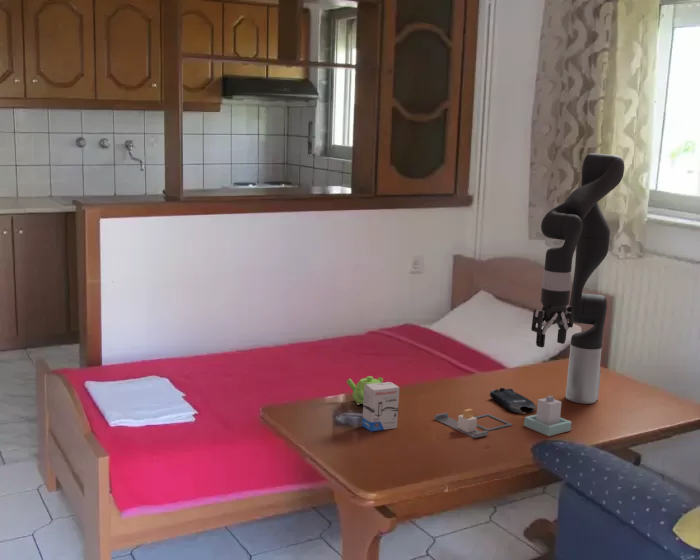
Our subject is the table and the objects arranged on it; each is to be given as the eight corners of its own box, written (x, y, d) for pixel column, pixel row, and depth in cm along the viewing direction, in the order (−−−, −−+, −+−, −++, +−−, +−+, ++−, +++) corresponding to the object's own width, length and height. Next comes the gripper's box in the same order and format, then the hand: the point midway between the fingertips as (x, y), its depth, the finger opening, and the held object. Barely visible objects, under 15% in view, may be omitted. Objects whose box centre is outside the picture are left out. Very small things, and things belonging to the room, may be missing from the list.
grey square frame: (488, 414, 233) (488, 413, 233) (512, 425, 225) (512, 424, 225) (463, 420, 228) (463, 419, 228) (487, 431, 220) (487, 430, 220)
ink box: (370, 432, 215) (372, 390, 213) (361, 426, 220) (363, 384, 217) (397, 428, 219) (400, 386, 217) (388, 422, 224) (391, 381, 221)
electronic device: (486, 404, 247) (514, 414, 233) (488, 386, 247) (516, 395, 233) (511, 406, 251) (541, 415, 237) (514, 388, 251) (543, 397, 237)
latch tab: (465, 425, 222) (467, 406, 221) (475, 430, 219) (477, 411, 218) (457, 427, 221) (459, 408, 220) (467, 432, 217) (469, 413, 216)
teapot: (392, 410, 233) (394, 382, 232) (354, 411, 230) (355, 383, 229) (381, 397, 244) (382, 370, 242) (344, 399, 241) (345, 371, 239)
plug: (546, 424, 228) (549, 393, 226) (558, 429, 224) (562, 397, 222) (535, 427, 225) (538, 395, 223) (547, 432, 222) (550, 400, 220)
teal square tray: (545, 420, 231) (546, 411, 230) (570, 430, 224) (571, 421, 223) (523, 425, 226) (524, 417, 225) (548, 436, 218) (549, 427, 218)
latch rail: (446, 416, 230) (446, 412, 230) (487, 436, 217) (488, 431, 216) (434, 419, 227) (434, 414, 227) (475, 439, 214) (476, 434, 214)
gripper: (549, 291, 212) (543, 351, 215) (584, 287, 220) (578, 345, 223) (527, 286, 218) (522, 344, 221) (562, 282, 226) (557, 338, 229)
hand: (550, 344), depth 222 cm, fingers open, 8 cm apart
